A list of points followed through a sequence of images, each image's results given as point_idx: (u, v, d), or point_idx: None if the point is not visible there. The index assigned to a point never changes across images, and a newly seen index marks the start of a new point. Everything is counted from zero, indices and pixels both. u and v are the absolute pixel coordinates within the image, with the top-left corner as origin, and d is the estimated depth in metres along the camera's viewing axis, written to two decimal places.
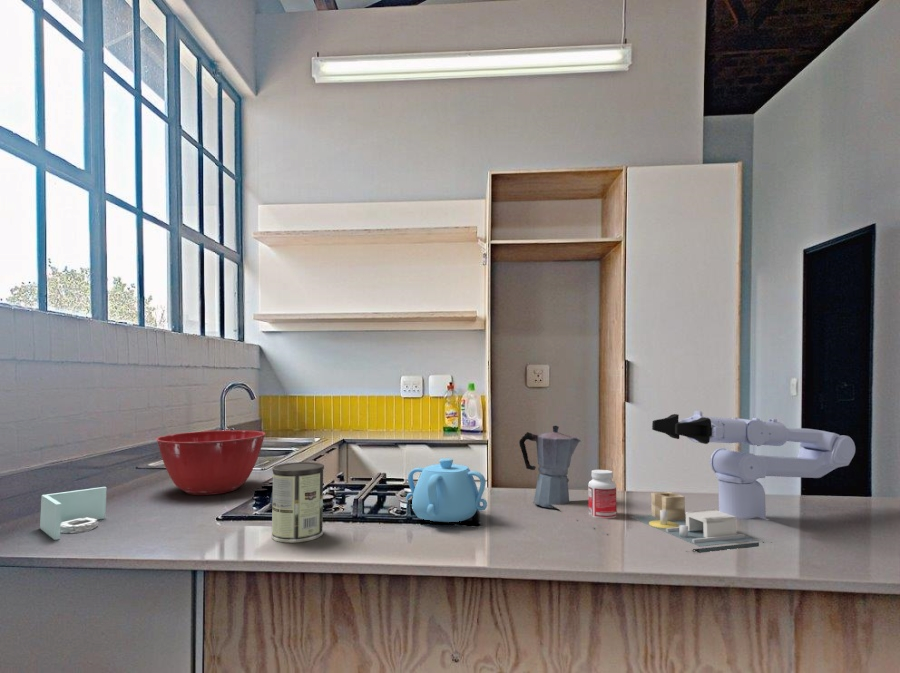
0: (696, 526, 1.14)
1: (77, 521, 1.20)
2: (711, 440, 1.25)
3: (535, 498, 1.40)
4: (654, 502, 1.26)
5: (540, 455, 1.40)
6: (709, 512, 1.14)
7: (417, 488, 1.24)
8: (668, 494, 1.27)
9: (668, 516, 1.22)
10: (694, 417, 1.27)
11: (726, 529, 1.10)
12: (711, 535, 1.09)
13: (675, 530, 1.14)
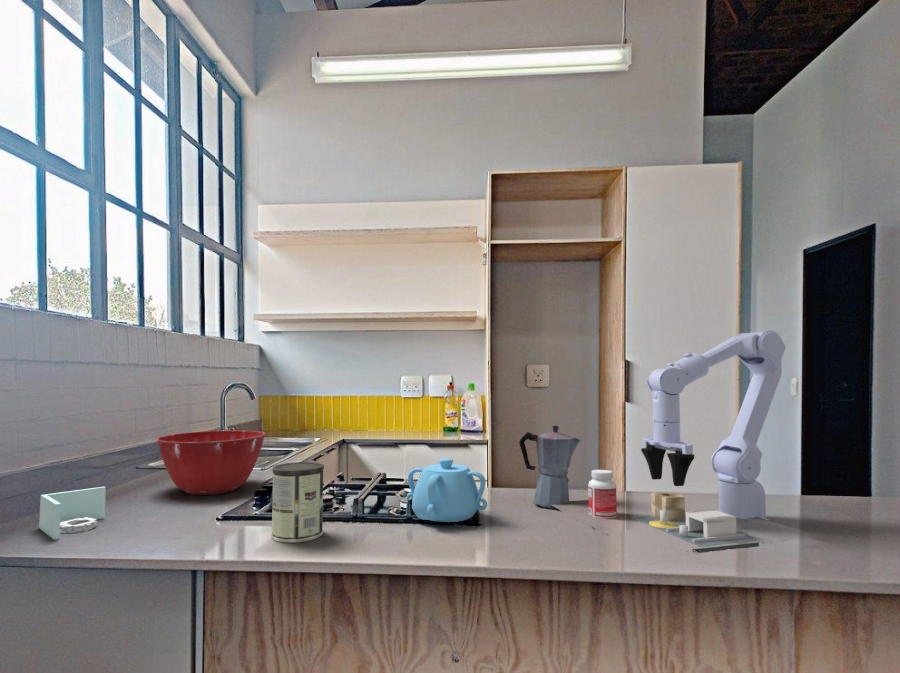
0: (696, 526, 1.14)
1: (76, 521, 1.20)
2: None
3: (535, 498, 1.40)
4: (654, 502, 1.26)
5: (540, 455, 1.40)
6: (709, 512, 1.14)
7: (417, 488, 1.24)
8: (668, 494, 1.27)
9: (668, 516, 1.22)
10: None
11: (726, 529, 1.10)
12: (711, 535, 1.09)
13: (675, 530, 1.14)
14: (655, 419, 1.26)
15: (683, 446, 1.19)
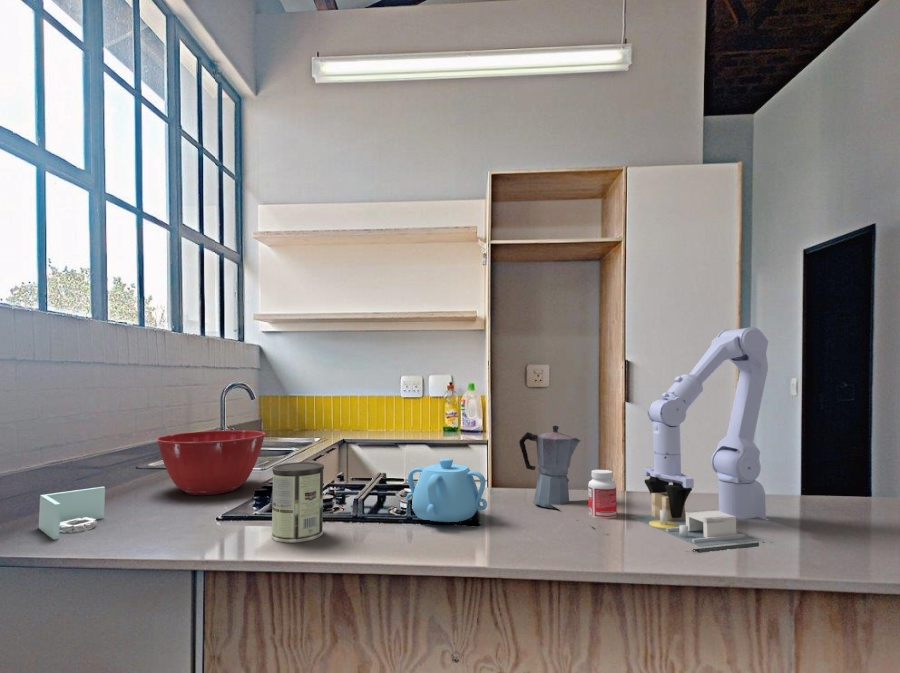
0: (696, 526, 1.14)
1: (76, 521, 1.20)
2: (680, 463, 1.25)
3: (535, 498, 1.40)
4: (654, 502, 1.26)
5: (540, 455, 1.40)
6: (709, 512, 1.14)
7: (417, 488, 1.24)
8: None
9: (668, 516, 1.22)
10: None
11: (726, 529, 1.10)
12: (711, 535, 1.09)
13: (675, 530, 1.14)
14: (656, 451, 1.25)
15: (684, 479, 1.19)
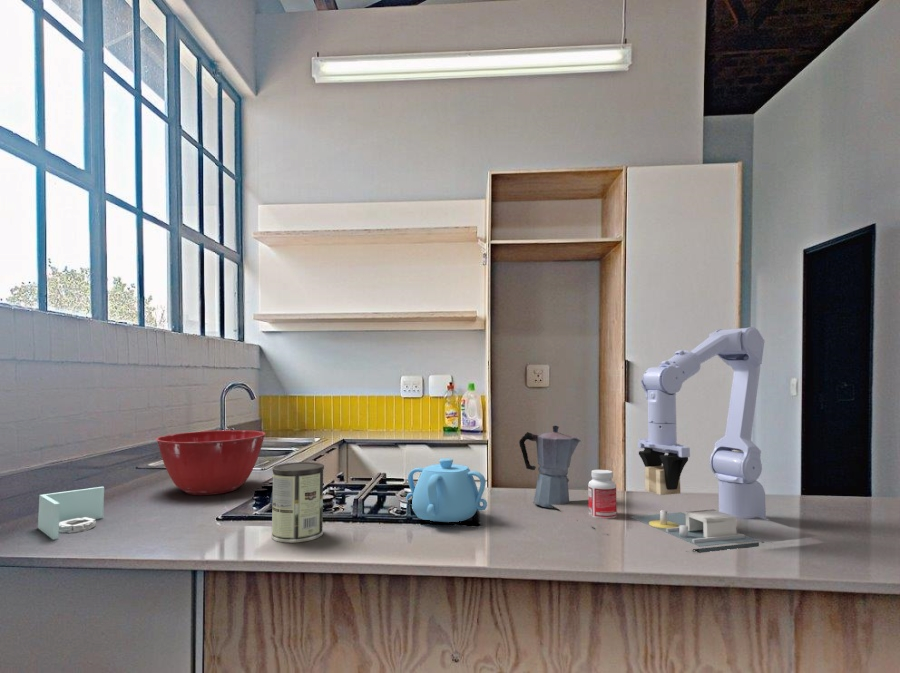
0: (696, 526, 1.14)
1: (75, 521, 1.20)
2: (676, 433, 1.19)
3: (535, 498, 1.40)
4: (648, 476, 1.20)
5: (540, 455, 1.40)
6: (709, 512, 1.14)
7: (417, 488, 1.24)
8: (662, 468, 1.21)
9: (663, 490, 1.16)
10: None
11: (726, 529, 1.10)
12: (711, 535, 1.09)
13: (675, 530, 1.14)
14: (652, 420, 1.19)
15: (679, 449, 1.13)
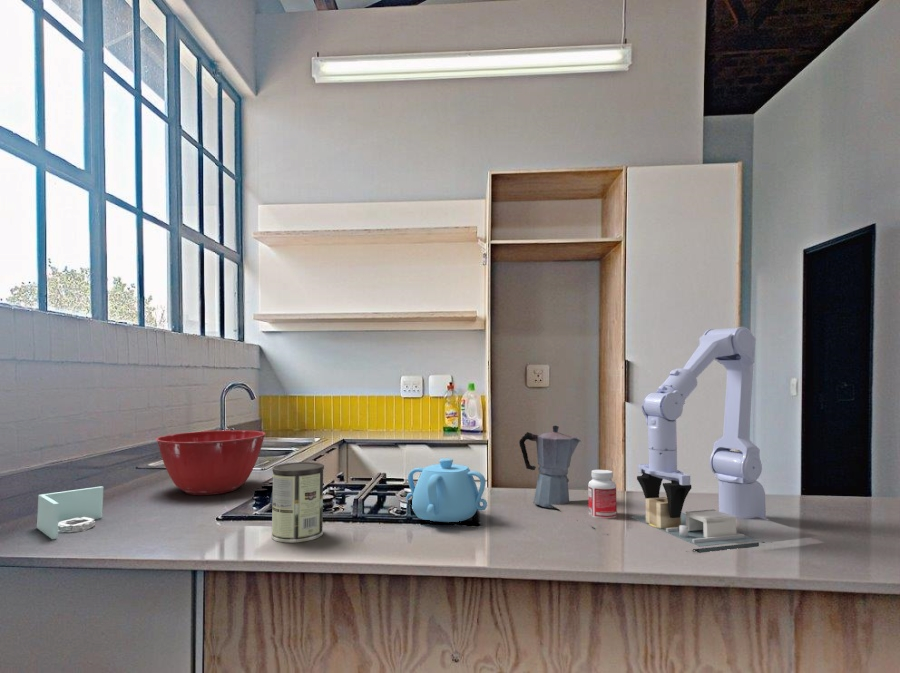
0: (696, 526, 1.14)
1: (74, 521, 1.20)
2: (676, 459, 1.19)
3: (535, 498, 1.40)
4: (649, 508, 1.19)
5: (540, 455, 1.40)
6: (709, 512, 1.14)
7: (417, 488, 1.24)
8: (663, 499, 1.20)
9: (663, 523, 1.16)
10: None
11: (726, 529, 1.10)
12: (711, 535, 1.09)
13: (675, 530, 1.14)
14: (653, 447, 1.18)
15: (680, 476, 1.13)
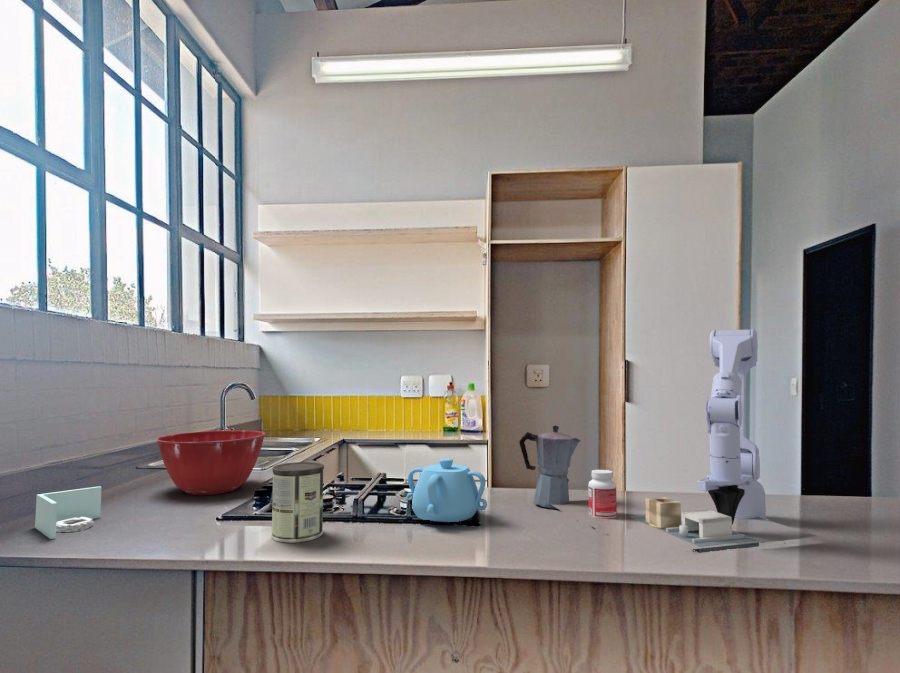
0: (692, 526, 1.14)
1: (72, 520, 1.20)
2: (730, 469, 1.12)
3: (535, 498, 1.40)
4: (649, 508, 1.19)
5: (540, 455, 1.40)
6: (705, 512, 1.14)
7: (417, 488, 1.24)
8: (663, 499, 1.20)
9: (663, 523, 1.16)
10: None
11: (722, 529, 1.10)
12: (707, 535, 1.09)
13: (675, 530, 1.14)
14: (724, 455, 1.12)
15: None
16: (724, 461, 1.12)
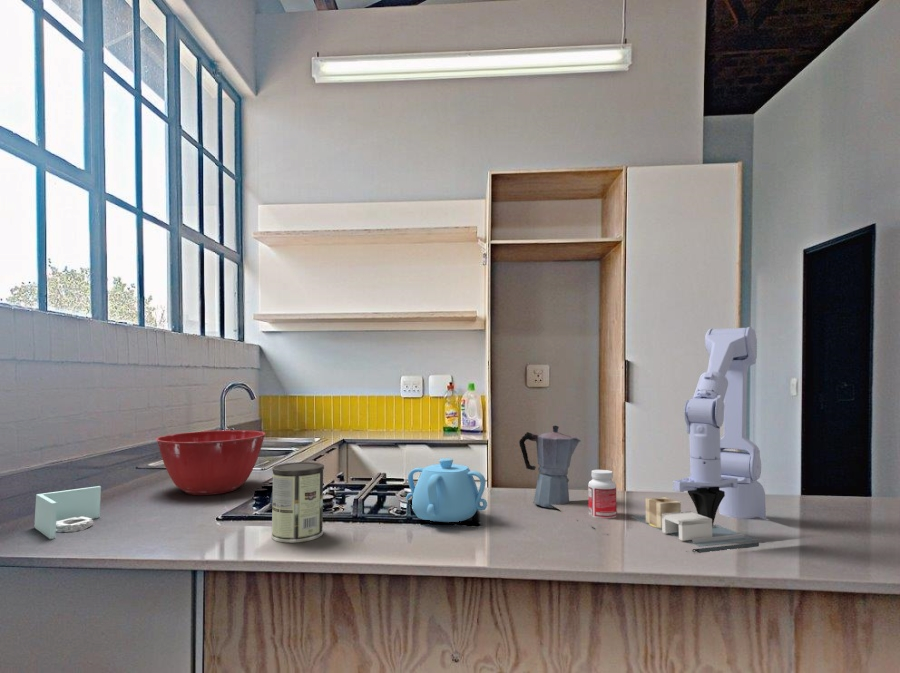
0: (672, 528, 1.12)
1: (72, 520, 1.21)
2: (707, 470, 1.10)
3: (535, 498, 1.40)
4: (649, 508, 1.19)
5: (540, 455, 1.40)
6: (685, 514, 1.12)
7: (417, 488, 1.24)
8: (663, 499, 1.20)
9: None
10: None
11: (702, 531, 1.08)
12: (686, 537, 1.07)
13: None
14: (701, 456, 1.11)
15: None
16: (701, 462, 1.11)
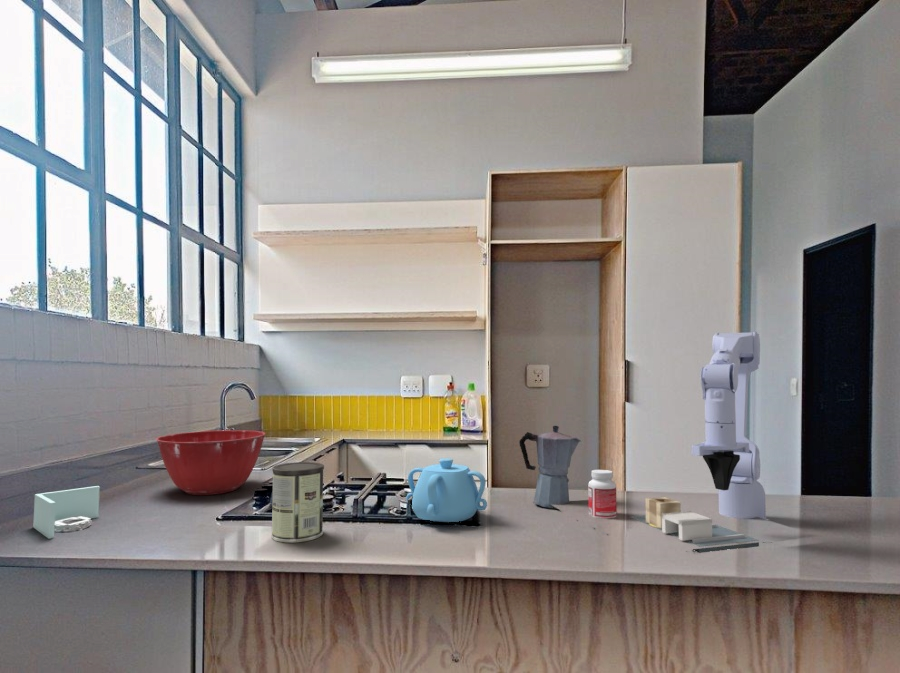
0: (672, 528, 1.12)
1: (70, 520, 1.21)
2: (724, 434, 1.12)
3: (535, 498, 1.40)
4: (649, 508, 1.19)
5: (540, 455, 1.40)
6: (685, 514, 1.12)
7: (417, 488, 1.24)
8: (663, 499, 1.20)
9: None
10: None
11: (702, 531, 1.08)
12: (686, 537, 1.07)
13: None
14: (719, 420, 1.12)
15: None
16: (719, 426, 1.12)
